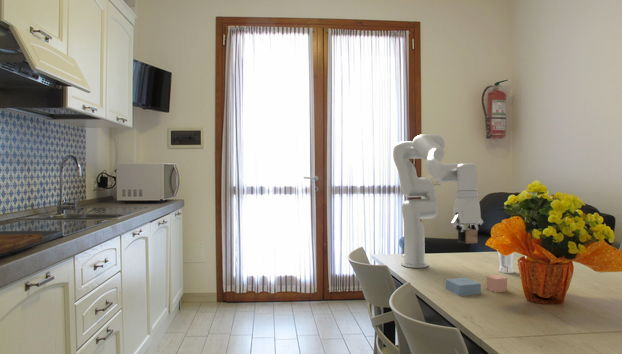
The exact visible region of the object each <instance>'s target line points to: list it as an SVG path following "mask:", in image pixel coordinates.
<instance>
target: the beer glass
mask: <svg viewBox="0 0 622 354" xmlns="http://www.w3.org/2000/svg"><path fill="white" fill-rule="evenodd" d="M497 255H498V260H499V261H498V262H499V265H498V272H499V273H501V274H514V273H515V271H514V259H515V253H512V254H510V255H508V256H503V255H501V254H500V253H499V252H498V251H497Z"/></svg>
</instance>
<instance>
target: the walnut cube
mask: <svg viewBox="0 0 622 354" xmlns="http://www.w3.org/2000/svg"><path fill="white" fill-rule="evenodd" d="M464 232H465V242H461V243H463V244H467V245H469V244H478V240H479V239H478V231H477V230H475V229H471V228H469V227H468V228H466V227H465V228H464ZM457 242H458V243H460V242H459V241H458V240H457Z"/></svg>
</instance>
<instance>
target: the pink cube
mask: <svg viewBox="0 0 622 354" xmlns="http://www.w3.org/2000/svg"><path fill="white" fill-rule="evenodd" d="M486 289H487V290H488V291H491V292H495V293H502V292H503V293H504V292H508V278H507V277H505V276H502V275H498V274H493V275H486Z"/></svg>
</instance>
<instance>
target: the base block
mask: <svg viewBox="0 0 622 354" xmlns="http://www.w3.org/2000/svg"><path fill="white" fill-rule="evenodd" d="M445 289H446V290H447V291H449V292H451V293H452V294H455V295H456V296H471V295H473V296H474V295H481V294H482V283H480V282H478V281H476V280H473V279H470V278H468V277H459V278H458V277H457V278H445Z"/></svg>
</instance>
